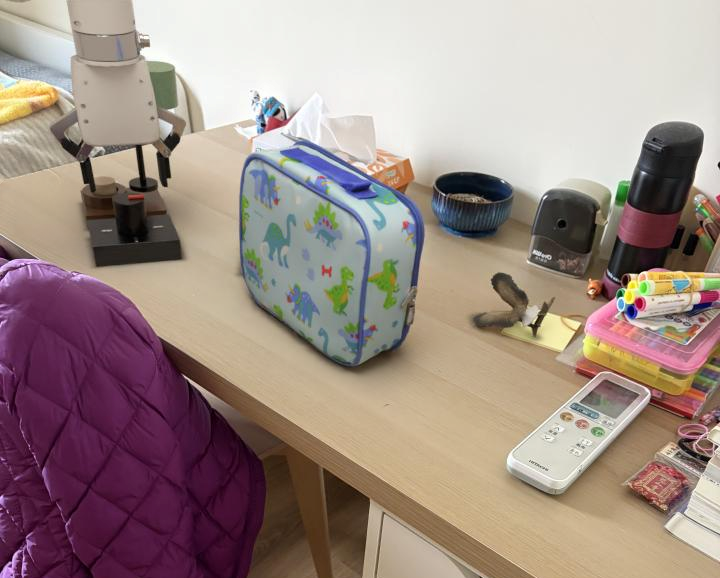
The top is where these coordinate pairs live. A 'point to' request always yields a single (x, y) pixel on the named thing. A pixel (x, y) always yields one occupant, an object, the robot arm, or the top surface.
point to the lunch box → (329, 250)
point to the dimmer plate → (134, 242)
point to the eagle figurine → (516, 301)
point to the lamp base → (103, 204)
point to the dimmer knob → (130, 213)
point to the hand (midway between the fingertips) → (128, 186)
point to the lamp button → (105, 185)
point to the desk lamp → (165, 98)
